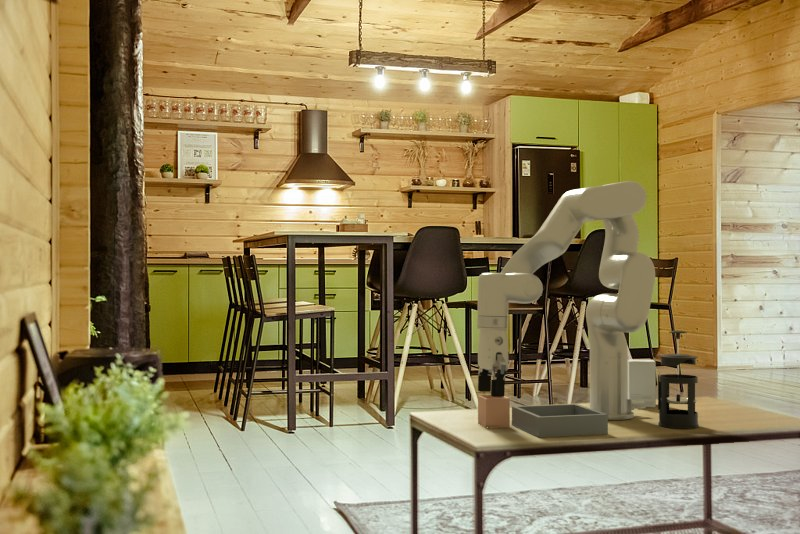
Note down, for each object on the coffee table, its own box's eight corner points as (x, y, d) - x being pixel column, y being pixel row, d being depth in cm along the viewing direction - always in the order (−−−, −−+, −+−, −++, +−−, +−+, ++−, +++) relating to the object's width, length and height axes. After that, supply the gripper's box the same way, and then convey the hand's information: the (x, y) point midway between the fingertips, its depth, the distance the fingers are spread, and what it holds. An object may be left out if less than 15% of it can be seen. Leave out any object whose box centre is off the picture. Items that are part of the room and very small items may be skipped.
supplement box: (656, 407, 243) (656, 361, 244) (628, 406, 245) (628, 361, 245) (654, 403, 251) (653, 359, 251) (627, 403, 252) (626, 358, 252)
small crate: (501, 423, 219) (501, 394, 219) (509, 427, 213) (509, 398, 213) (478, 424, 218) (478, 395, 218) (486, 428, 212) (485, 399, 212)
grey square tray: (576, 422, 220) (576, 403, 220) (607, 434, 204) (607, 414, 204) (511, 424, 216) (511, 406, 216) (538, 437, 200) (538, 417, 200)
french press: (709, 427, 211) (708, 331, 211) (678, 430, 208) (677, 332, 208) (675, 420, 222) (675, 328, 222) (645, 423, 218) (645, 329, 219)
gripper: (520, 325, 208) (518, 398, 208) (495, 322, 225) (493, 389, 225) (489, 325, 206) (487, 398, 206) (467, 321, 223) (465, 389, 223)
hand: (490, 393), depth 215 cm, fingers open, 9 cm apart
